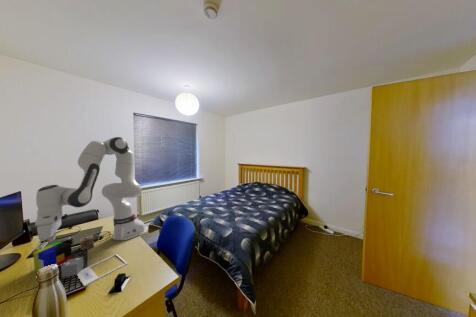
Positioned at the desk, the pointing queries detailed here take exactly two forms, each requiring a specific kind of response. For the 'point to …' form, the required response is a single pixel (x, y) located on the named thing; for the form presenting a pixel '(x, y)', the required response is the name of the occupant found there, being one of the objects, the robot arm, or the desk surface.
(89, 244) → the walnut block
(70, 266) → the grey block
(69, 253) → the puzzle toy
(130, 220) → the robot arm
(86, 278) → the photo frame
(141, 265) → the desk surface
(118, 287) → the black irregular block
